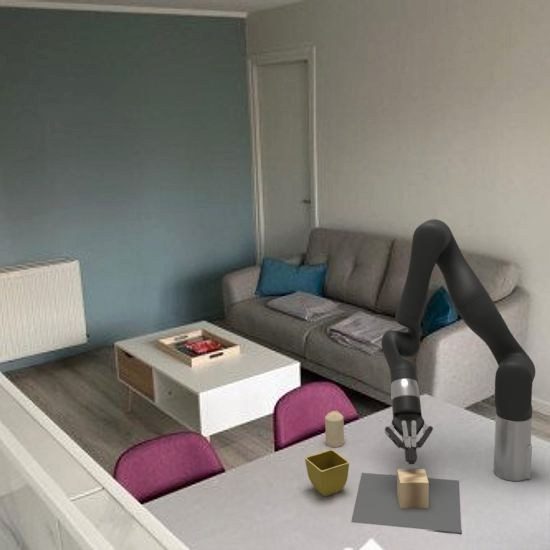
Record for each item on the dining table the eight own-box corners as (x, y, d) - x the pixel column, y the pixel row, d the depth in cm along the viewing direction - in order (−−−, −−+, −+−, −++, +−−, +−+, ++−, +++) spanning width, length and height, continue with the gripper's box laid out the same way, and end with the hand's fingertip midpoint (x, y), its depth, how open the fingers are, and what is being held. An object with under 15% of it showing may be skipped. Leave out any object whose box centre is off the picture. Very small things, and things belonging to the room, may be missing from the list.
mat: (458, 481, 186) (458, 480, 186) (461, 534, 163) (461, 532, 163) (361, 473, 192) (361, 472, 192) (351, 523, 169) (351, 522, 169)
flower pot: (322, 503, 178) (321, 471, 176) (305, 487, 186) (304, 457, 184) (350, 493, 182) (350, 462, 180) (332, 478, 190) (332, 448, 188)
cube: (424, 468, 179) (428, 482, 172) (424, 493, 180) (428, 507, 174) (397, 468, 179) (400, 482, 172) (397, 493, 181) (400, 508, 174)
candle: (342, 448, 207) (342, 417, 205) (324, 446, 208) (323, 416, 206) (344, 439, 212) (344, 409, 210) (327, 438, 213) (326, 408, 211)
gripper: (381, 394, 183) (386, 459, 174) (432, 393, 182) (439, 458, 173) (380, 404, 189) (384, 467, 180) (428, 403, 189) (436, 467, 180)
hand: (411, 463), depth 177 cm, fingers closed
